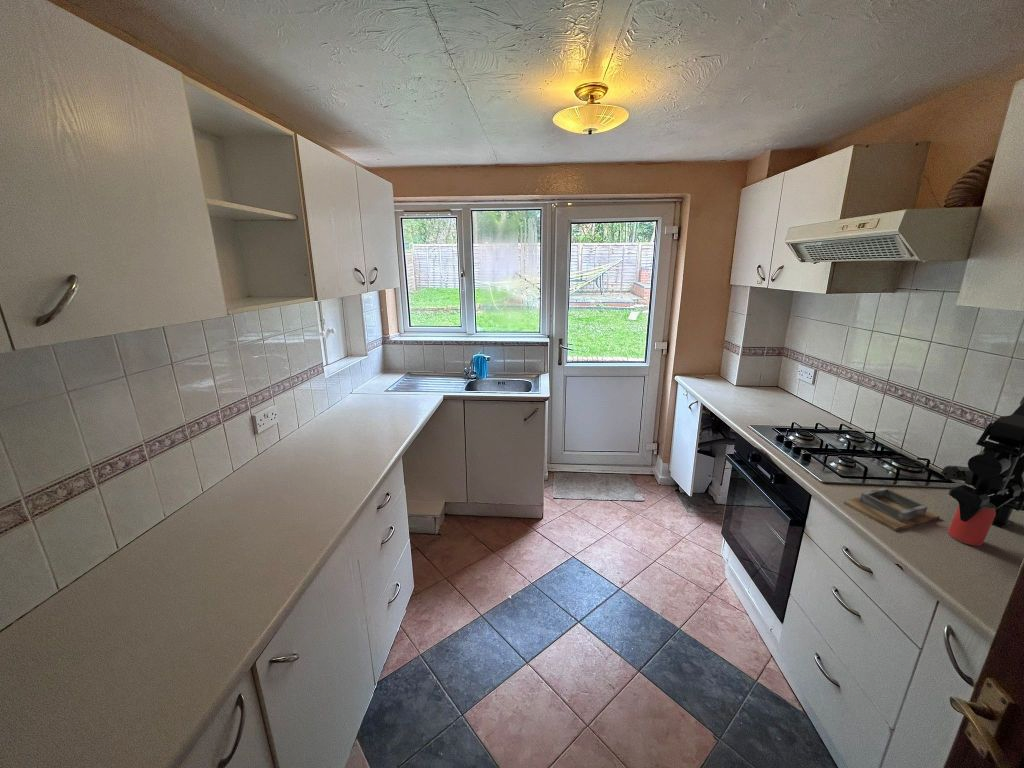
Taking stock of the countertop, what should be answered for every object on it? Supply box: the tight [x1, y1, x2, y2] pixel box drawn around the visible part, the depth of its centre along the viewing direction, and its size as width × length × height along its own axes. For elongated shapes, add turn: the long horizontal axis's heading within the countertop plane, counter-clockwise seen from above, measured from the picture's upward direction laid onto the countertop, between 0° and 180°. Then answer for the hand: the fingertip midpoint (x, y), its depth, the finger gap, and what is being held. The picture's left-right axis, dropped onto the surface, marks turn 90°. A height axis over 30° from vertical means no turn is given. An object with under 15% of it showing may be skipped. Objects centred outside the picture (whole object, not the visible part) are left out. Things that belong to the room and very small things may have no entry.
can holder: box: [843, 487, 941, 532], centre depth 122 cm, size 20×14×4 cm
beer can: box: [948, 502, 996, 547], centre depth 109 cm, size 7×7×12 cm
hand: (973, 517), depth 109 cm, fingers open, 9 cm apart
